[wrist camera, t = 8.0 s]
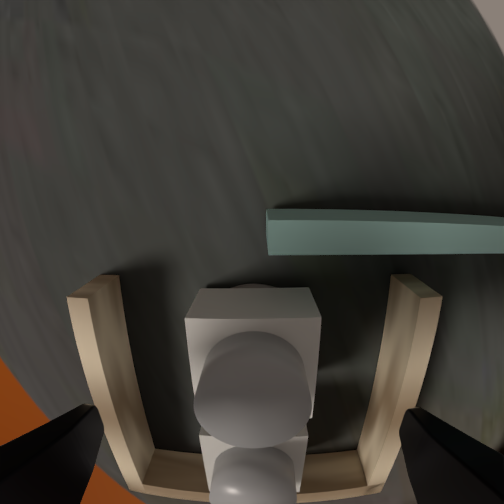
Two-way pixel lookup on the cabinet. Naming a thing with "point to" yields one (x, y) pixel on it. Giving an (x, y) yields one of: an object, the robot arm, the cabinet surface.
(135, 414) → the housing
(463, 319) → the cabinet surface
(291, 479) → the jaw
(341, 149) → the cabinet surface
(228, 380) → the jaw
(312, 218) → the panel
